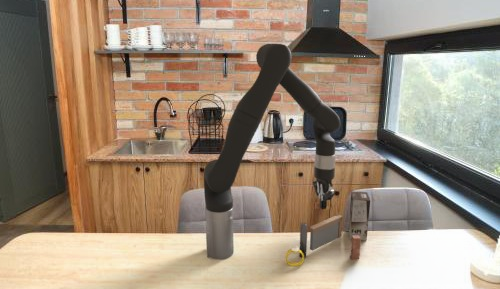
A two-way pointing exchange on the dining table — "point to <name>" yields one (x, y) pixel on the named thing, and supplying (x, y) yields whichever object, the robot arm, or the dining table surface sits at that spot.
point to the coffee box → (359, 214)
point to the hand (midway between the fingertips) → (322, 208)
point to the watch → (294, 250)
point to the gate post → (303, 239)
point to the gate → (325, 231)
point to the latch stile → (355, 247)
